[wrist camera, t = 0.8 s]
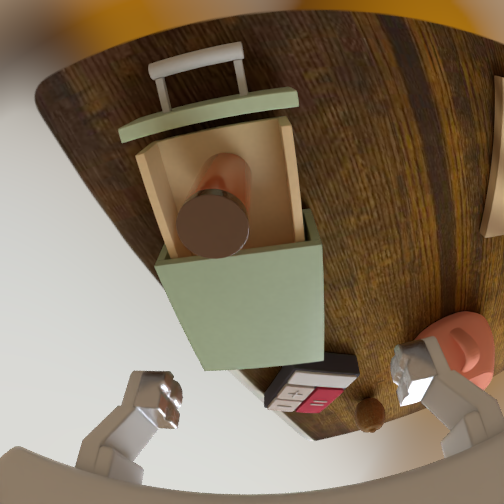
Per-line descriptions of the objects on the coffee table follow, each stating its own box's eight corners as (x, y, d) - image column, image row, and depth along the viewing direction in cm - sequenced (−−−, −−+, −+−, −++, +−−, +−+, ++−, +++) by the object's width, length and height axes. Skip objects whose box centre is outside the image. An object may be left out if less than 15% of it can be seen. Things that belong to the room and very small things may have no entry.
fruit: (371, 405, 55) (377, 437, 48) (346, 405, 54) (351, 439, 48) (386, 391, 52) (394, 424, 45) (361, 391, 51) (368, 426, 44)
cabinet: (171, 228, 31) (153, 266, 26) (310, 208, 30) (322, 244, 24) (210, 331, 41) (204, 371, 35) (317, 320, 39) (323, 360, 33)
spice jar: (194, 157, 25) (166, 202, 18) (247, 148, 24) (241, 188, 17) (206, 204, 27) (187, 263, 20) (256, 196, 27) (254, 254, 20)
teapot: (473, 358, 47) (494, 409, 36) (404, 388, 52) (419, 444, 41) (488, 277, 35) (531, 342, 24) (395, 319, 39) (424, 398, 28)
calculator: (263, 411, 48) (294, 372, 39) (263, 390, 51) (292, 347, 42) (320, 415, 49) (362, 378, 40) (318, 395, 52) (357, 355, 43)
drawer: (128, 74, 21) (103, 78, 17) (281, 39, 20) (287, 32, 16) (183, 257, 32) (173, 286, 28) (308, 241, 31) (315, 270, 27)
